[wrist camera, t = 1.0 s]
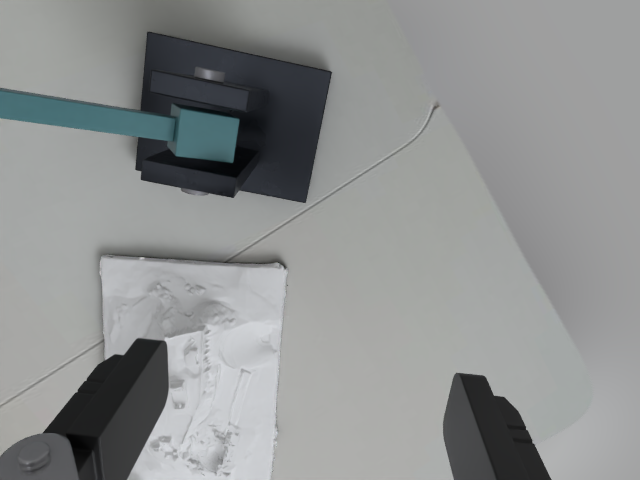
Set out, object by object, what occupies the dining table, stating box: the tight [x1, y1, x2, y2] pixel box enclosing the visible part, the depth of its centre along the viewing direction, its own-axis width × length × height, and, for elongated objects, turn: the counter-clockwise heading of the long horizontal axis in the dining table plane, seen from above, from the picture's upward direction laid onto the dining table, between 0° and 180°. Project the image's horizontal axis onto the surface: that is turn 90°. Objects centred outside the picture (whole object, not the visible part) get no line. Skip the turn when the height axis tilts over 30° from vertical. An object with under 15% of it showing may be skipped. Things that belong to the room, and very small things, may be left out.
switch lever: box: [0, 88, 239, 163], centre depth 21 cm, size 12×5×2 cm, turn 78°
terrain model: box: [99, 254, 288, 480], centre depth 37 cm, size 17×23×5 cm
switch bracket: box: [136, 32, 332, 203], centre depth 27 cm, size 12×9×12 cm
